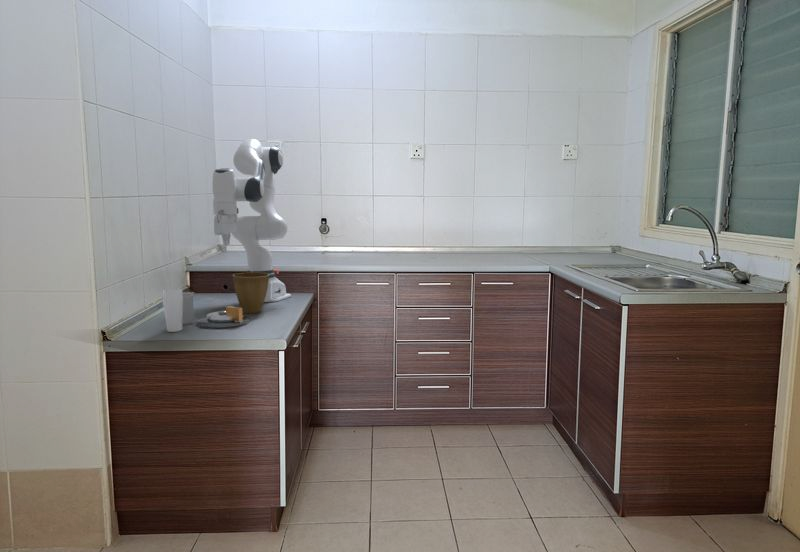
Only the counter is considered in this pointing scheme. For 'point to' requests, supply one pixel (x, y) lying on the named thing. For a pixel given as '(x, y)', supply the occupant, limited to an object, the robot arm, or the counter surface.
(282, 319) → the counter surface
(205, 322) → the dial plate
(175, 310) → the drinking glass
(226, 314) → the dial
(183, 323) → the beverage can
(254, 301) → the plant pot
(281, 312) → the counter surface
